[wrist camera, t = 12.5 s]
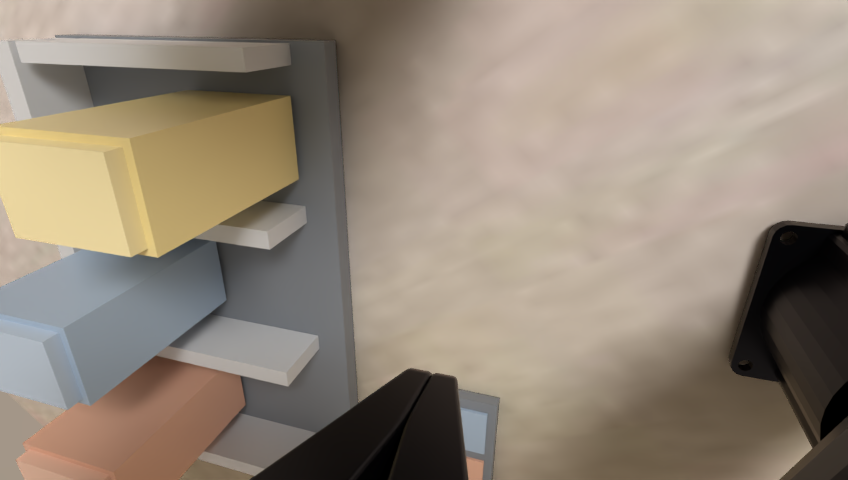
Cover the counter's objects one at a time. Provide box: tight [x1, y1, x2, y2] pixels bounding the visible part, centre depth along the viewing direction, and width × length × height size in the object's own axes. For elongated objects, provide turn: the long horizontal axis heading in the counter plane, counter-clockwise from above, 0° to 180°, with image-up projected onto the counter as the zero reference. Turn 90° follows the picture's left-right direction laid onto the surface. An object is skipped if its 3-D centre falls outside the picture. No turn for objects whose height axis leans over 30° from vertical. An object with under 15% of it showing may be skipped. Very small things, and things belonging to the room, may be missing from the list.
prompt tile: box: [458, 389, 500, 480], centre depth 26 cm, size 7×4×1 cm, turn 179°
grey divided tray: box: [0, 35, 358, 476], centre depth 24 cm, size 22×14×4 cm, turn 179°
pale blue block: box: [0, 238, 227, 410], centre depth 22 cm, size 4×5×9 cm
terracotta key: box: [16, 356, 246, 480], centre depth 25 cm, size 4×5×9 cm
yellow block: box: [0, 90, 299, 258], centre depth 18 cm, size 4×5×9 cm
